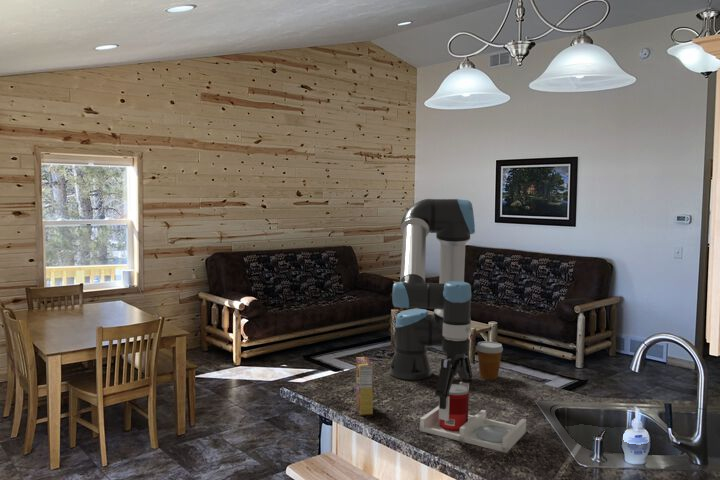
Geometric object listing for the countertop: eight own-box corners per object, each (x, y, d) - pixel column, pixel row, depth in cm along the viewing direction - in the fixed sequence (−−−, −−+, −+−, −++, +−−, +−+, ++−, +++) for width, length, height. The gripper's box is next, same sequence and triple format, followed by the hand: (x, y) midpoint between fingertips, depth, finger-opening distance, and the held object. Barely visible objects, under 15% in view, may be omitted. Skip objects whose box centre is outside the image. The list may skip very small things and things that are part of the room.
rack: (444, 416, 181) (444, 401, 181) (525, 435, 168) (526, 419, 168) (419, 434, 168) (420, 418, 167) (506, 456, 155) (507, 439, 154)
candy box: (354, 404, 190) (355, 356, 189) (368, 404, 190) (369, 356, 189) (358, 415, 181) (359, 365, 180) (373, 414, 182) (373, 364, 180)
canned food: (472, 430, 168) (473, 391, 167) (446, 433, 166) (447, 394, 165) (460, 419, 176) (461, 382, 175) (434, 422, 173) (435, 385, 172)
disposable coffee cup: (470, 377, 218) (471, 345, 217) (481, 371, 226) (482, 339, 225) (496, 382, 213) (497, 349, 212) (506, 376, 221) (507, 343, 220)
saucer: (483, 427, 171) (483, 422, 171) (514, 434, 166) (515, 430, 166) (471, 437, 163) (471, 433, 163) (503, 446, 158) (503, 441, 158)
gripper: (449, 349, 156) (447, 429, 158) (485, 330, 177) (483, 401, 179) (423, 345, 160) (421, 423, 162) (461, 327, 181) (459, 396, 183)
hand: (453, 412), depth 170 cm, fingers open, 13 cm apart
